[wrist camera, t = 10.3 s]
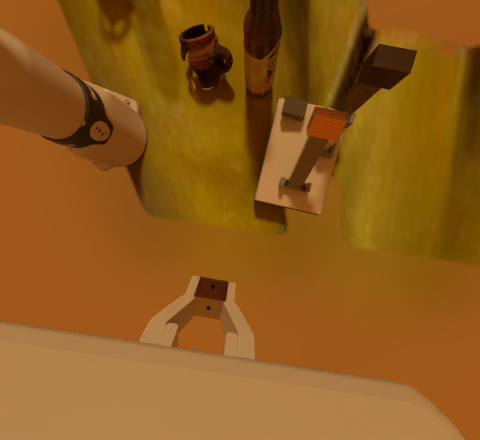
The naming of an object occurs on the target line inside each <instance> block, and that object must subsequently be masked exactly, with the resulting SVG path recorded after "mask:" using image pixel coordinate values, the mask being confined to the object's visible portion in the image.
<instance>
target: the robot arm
mask: <svg viewBox="0 0 480 440" xmlns="http://www.w3.org/2000/svg"><path fill="white" fill-rule="evenodd" d="M129 104H130V105H129ZM0 124H3V125H7V126H11V127H14V128H18V129H22V130H25V131H29V132H32V133H36V134H39V135H41V136H42V137H43V138H45V139H47V140H50V141H53V142H54V143H57V144H60V145H63V146H67V147H68V150H69V151H71V152H74V155H76V156H78V157H81V158H84V159H87V160H90V161H92V162H93V163H94V164H95V165H96V166H97V167H98V168H99V169H101V170H104V171H106V170H109V169H111V168H113V167H120V166H127V165H130V164H132V163H134V162H135V161H136V160H137V159H138V158H139V157H140V156H141V155H142V153H143V151H144V149H145V146H146V139H147V135H146V129H145V126H144V123H143V121H142V119H141V116H140V106H139V104H138V103H137V102H136V101H135V100H132V99H130V98H127V97H125V96H122V95H120V94H117V93H115V92H112V91H110V90H107V89H105V88H102V87H99V86H97V85H94V84H92V83H89V82H87V81H83V80H82V79H80V78H79V77H77V76H75V75H73V74H72V73H70V72H68V71H66V70H63V69H60V68H59V67H57V66H56V65H55V64H53V63H52V62H50V61H49V60H47V59H46V58H45V57H43V56H42V55H40V54H39V53H37V52H36V51H35V50H33V49H32V48H30V47H29V46H28V45H26V44H25V43H23V42H22V41H20V40H19V39H18V38H16V37H15V36H13V35H12V34H10V33H8V32H6V31H4V30H2V29H0ZM235 291H236V283H235V282H229V281H224V280H217V279H211V278H206V277H200V276H195V275H193V277H192V279H191V281H190V284H189V286H188V289H187V291H186V294H185V295H182V296H181V297H179V298H178V299H177V300H175V301H174V302H173V303H171V304H170V305H169V306H167V307H166V308H165V309H163V310H162V311H161V312H159V313H158V314H157V315H155V316H154V317H153V318H151V320H150V321H149V323H148V325H147V327H146V329H145V331H144V333H143V335H142V336H141V338H140V341H139V342H136V341H130V340H124V339H118V338H111V337H104V336H98V335H91V334H85V333H79V332H72V331H65V330H59V329H53V328H46V327H40V326H34V325H27V324H21V323H15V322H8V321H2V320H0V440H465V439H464V438H463V436H462V435H461V434H460V432H459V431H458V430H457V429H456V427H455V426H454V425H453V423H452V422H451V421H450V420H449V419H448V418H447V417H446V416H445V415H444V414H443V413H442V412H441V411H440V410H438V409H437V408H436V407H435V406H434V405H433V404H432V403H431V402H430V401H429V400H428V399H427V398H425V397H424V396H423V395H422V394H421V393H420V392H419V391H417V390H416V389H415V388H414V387H412V386H411V385H409V384H406V383H402V382H397V381H390V380H384V379H377V378H371V377H364V376H357V375H351V374H345V373H338V372H331V371H326V370H319V369H312V368H306V367H300V366H293V365H287V364H280V363H274V362H266V361H261V360H255V358H254V335H253V333H252V331H251V329H250V328H249V326H248V324H247V322H246V320H245V318H244V317H243V315H242V313H241V311H240V309H239V307H238V306H237V304H235V303H234V302H235ZM194 316H202V317H208V318H213V319H219V320H220V323H221V326H222V328H223V331H224V334H225V341H224V345H223V349H222V352H221V354H214V353H209V352H202V351H196V350H188V349H182V348H177V346H178V333H179V332H180V331H181V329H183V328H184V327H185V325H186V324H187V323H188V322H189V321H190V320H191V319H192V318H193V317H194Z"/></svg>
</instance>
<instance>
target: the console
mask: <svg viewBox="0 0 480 440" xmlns="http://www.w3.org/2000/svg"><path fill="white" fill-rule="evenodd" d="M284 100H285V99H282V98H279V101H278V102H277V106H276V110H275V114H274V118H273V122H272V127H271V131H270V135H269V139H268V143H267V148H266V152H265V156H264V160H263V164H262V169H261V173H260V177H259V181H258V185H257V190H256V194H255V198H254V201H258V202H263V203H267V204H271V205H276V206H280V207H284V208H289V209H293V210H297V211H302V212H306V213H311V214H315V215H318V214H321V210H322V206H323V203H324V200H325V196H326V193H327V189H328V186H329V182H330V179H331V175H332V172H333V168H334V165H335V161H336V158H337V154H338V151H339V147H340V144H341V140H342V137H343V133H344V130H345V128H347V127H349V126H350V125H351V124H352V123H353V121H354V118H355V114H356V113H353V114H351V115H350V116H349V117H348V118H347V123H346V124H345V126H344V128H343V129H342V131H341V133H340V134H339V136H338V140H337V142H336V143H335V144H333V145H332V146H331V147H329V148H328V149H326V150H323V152H322V153H321V155H320V157H319V159H318V160H317V162H316V164H315V165H314V167H313V169H312V171H311V172H310V174H309V176H308V178H307V179H306V181H305V188H304V190H303V191H299V190H294V189H290V188H285V187H284V182H285V179H289V177H290V175H291V173H292V170H293V168H294V166H295V164H296V162H297V159H298V157H299V155H300V153H301V150H302V148H303V146H304V144H305V142H306V139H307V137H308V135H306V132H307V125H308V122H309V120H310V117H311V115H312V113H313V110H314V108H315V106H317V105H312V104H308V105H307V109H306V113H305V117H304V119H303V120H301V121H298V120H295V119H292V118H288V117H285V116H282V115H281V112H282V108H283V104H284ZM317 107H322V106H317ZM322 108H327V107H322ZM327 109H331V108H327Z"/></svg>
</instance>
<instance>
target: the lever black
mask: <svg viewBox="0 0 480 440" xmlns="http://www.w3.org/2000/svg"><path fill="white" fill-rule="evenodd" d="M416 53H417V51H414V50H409V49H404V48H398V47H393V46H388V45H382V44H379V45H378V46H377V47H376V48H375V50H374V51H373V52H372V53H371V55H370V56H369V57H368V58H367V60H366V61H365V62H364V63H363V65H362V68H361V72H360V75H359V79H358V80H357V82H356V83H355V84H354V85H353V86H352V87H351V89H350V90H349V91H348V92H347V93H346V94H345V95H344V97H343V98H342V99H341V100H340V101H339V102H338V104H337V105H336V106H335V107H334V108H333V109H332V110H337V111H342V112H346V116H347V118H348V117H349V116H350V115H351V114H353V113H354V112H355V111H356V110H357V109H358V108H359V107H361V106H362V105H363V104H364V103H365V102H366V101H367V100H368V99H370V98H371V97H372V96H373V95H374V94H375V93H376V92H377V91H379V90H380V89H381V88H384V89H389V90H390V89H391V88H392V87H394V86H395V85H396V84H397V83H399V82H400V81H401V80H402V79H403V78H405V77H406V76H407V75H408V74H410V72H411V69H412V66H413V63H414V59H415V56H416Z"/></svg>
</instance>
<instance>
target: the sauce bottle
mask: <svg viewBox="0 0 480 440" xmlns="http://www.w3.org/2000/svg"><path fill="white" fill-rule="evenodd" d="M278 2H279V0H250V8H249V10H248V12H247V14H246V17H245V20H244V29H243V30H244V65H245V82H246V87H247V90H248V92H249V93H250V94H251V95H252V96H254V97H263V96H265V95H266V94H267V93H268V92H269V91H270V89H271V86H272V84H273V80H274V74H275V69H276V63H277V58H278V52H279V46H280V40H281V34H282V25H281V19H280V13H279V7H278Z"/></svg>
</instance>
